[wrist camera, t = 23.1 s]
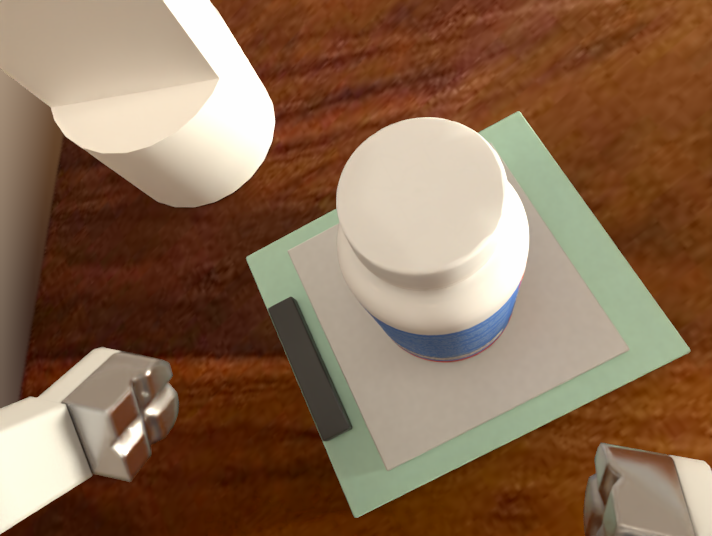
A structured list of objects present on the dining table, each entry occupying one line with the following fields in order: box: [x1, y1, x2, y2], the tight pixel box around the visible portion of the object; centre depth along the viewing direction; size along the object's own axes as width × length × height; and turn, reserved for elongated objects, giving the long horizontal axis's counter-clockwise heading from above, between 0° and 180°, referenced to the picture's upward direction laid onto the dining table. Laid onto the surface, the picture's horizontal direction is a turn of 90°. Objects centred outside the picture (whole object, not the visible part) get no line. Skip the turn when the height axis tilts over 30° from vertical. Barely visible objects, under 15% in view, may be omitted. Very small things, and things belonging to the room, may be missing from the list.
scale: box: [246, 111, 690, 518], centre depth 23 cm, size 14×12×3 cm
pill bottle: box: [336, 117, 529, 363], centre depth 17 cm, size 6×5×10 cm
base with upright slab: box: [0, 0, 275, 207], centre depth 24 cm, size 9×9×12 cm
